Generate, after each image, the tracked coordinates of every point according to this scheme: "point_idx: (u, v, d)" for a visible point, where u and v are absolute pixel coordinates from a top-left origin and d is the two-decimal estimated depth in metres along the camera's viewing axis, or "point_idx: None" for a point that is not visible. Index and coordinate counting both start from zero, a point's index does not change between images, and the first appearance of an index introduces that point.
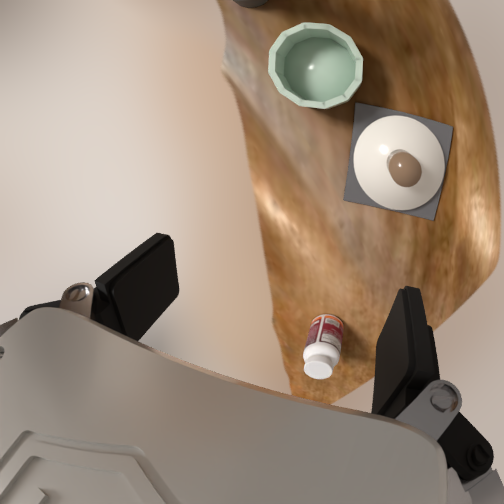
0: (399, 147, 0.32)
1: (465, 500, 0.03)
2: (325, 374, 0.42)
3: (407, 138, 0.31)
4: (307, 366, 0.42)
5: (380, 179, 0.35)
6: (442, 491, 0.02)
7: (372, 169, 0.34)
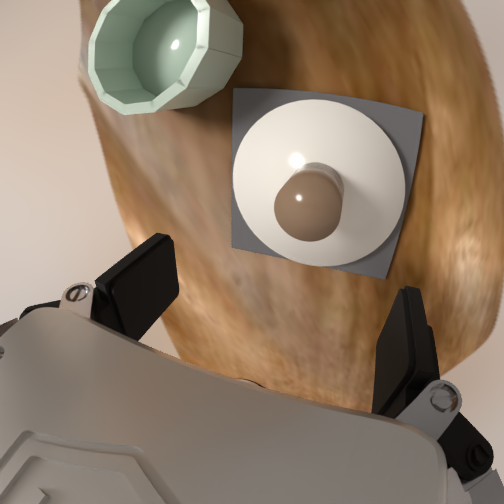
0: (311, 159, 0.19)
1: (465, 500, 0.03)
2: None
3: (327, 141, 0.18)
4: None
5: None
6: (442, 491, 0.02)
7: (266, 201, 0.22)
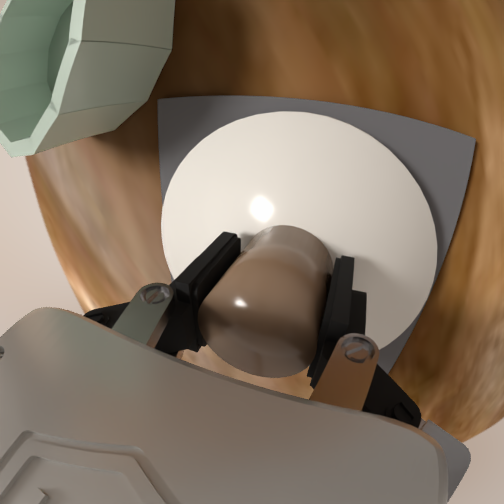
0: (278, 219, 0.11)
1: None
2: None
3: (306, 188, 0.10)
4: None
5: None
6: (442, 491, 0.02)
7: None
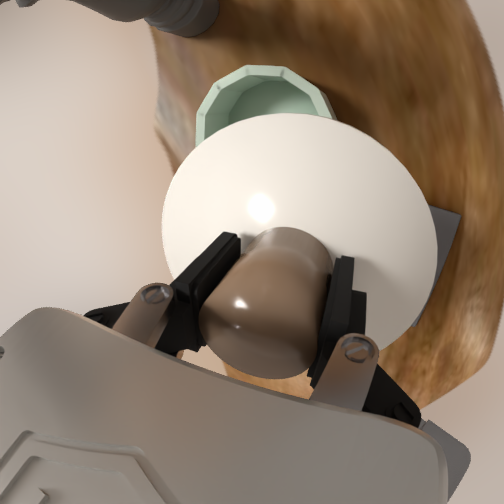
0: (278, 221, 0.12)
1: None
2: None
3: (306, 190, 0.10)
4: None
5: None
6: (442, 491, 0.02)
7: None
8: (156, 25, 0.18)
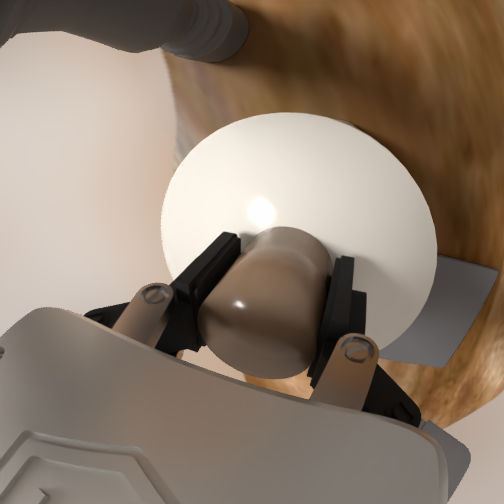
0: (278, 221, 0.11)
1: None
2: None
3: (305, 190, 0.10)
4: None
5: None
6: (442, 491, 0.02)
7: None
8: (173, 52, 0.16)
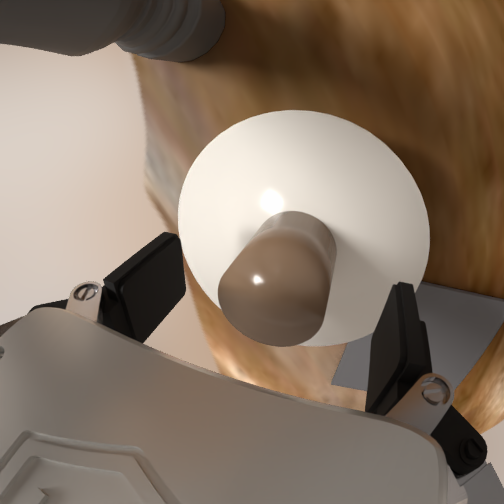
0: (287, 206, 0.13)
1: (461, 495, 0.03)
2: None
3: (312, 178, 0.12)
4: None
5: None
6: (442, 491, 0.02)
7: (224, 262, 0.16)
8: (132, 51, 0.13)
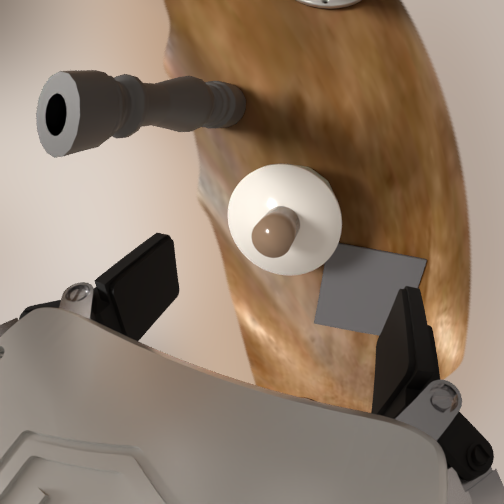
0: (278, 204, 0.31)
1: (465, 500, 0.03)
2: None
3: (287, 192, 0.30)
4: None
5: None
6: (442, 491, 0.02)
7: (250, 231, 0.33)
8: (200, 125, 0.31)
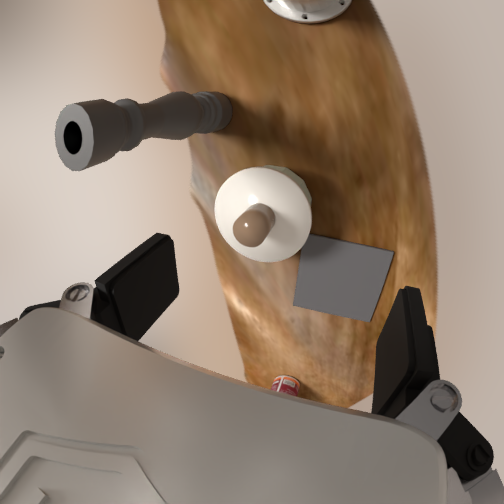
0: (256, 201, 0.36)
1: (465, 500, 0.03)
2: None
3: (264, 191, 0.35)
4: None
5: None
6: (442, 491, 0.02)
7: (233, 224, 0.39)
8: None
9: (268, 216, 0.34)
